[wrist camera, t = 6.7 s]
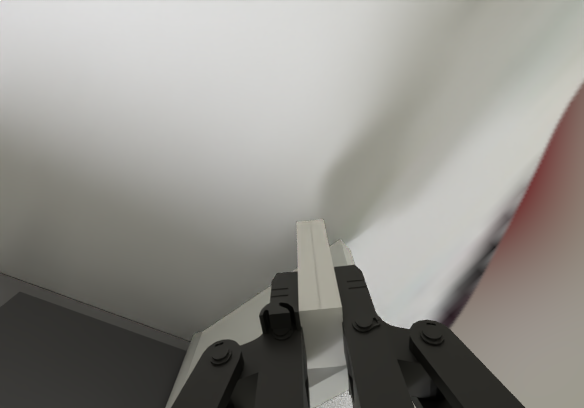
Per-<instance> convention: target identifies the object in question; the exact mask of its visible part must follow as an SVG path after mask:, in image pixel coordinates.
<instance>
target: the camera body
mask: <svg viewBox="0 0 584 408" xmlns="http://www.w3.org/2000/svg"><path fill="white" fill-rule="evenodd" d="M189 345H190V342H189V341H186V340H184V339H181V338H178V337H175V336H172V335H170V334H167V333H164V332H161V331H159V330H156V329H153V328H150V327H148V326H145V325H142V324H139V323H137V322H134V321H131V320H128V319H126V318H123V317H120V316H117V315H115V314H112V313H109V312H106V311H104V310H101V309H98V308H95V307H93V306H90V305H87V304H84V303H82V302H79V301H76V300H73V299H70V298H68V297H65V296H62V295H59V294H57V293H54V292H51V291H48V290H46V289H43V288H40V287H37V286H35V285H32V284H29V283H26V282H24V281H21V280H18V279H15V278H13V277H10V276H7V275H4V274H2V273H0V408H165V407H166V405H167V402H168V399H169V397H170V394H171V392H172V389H173V386H174V384H175V381H176V379H177V376H178V373H179V371H180V368H181V366H182V363H183V360H184V358H185V355H186V353H187V350H188V347H189Z"/></svg>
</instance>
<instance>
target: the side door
mask: <svg viewBox="0 0 584 408" xmlns="http://www.w3.org/2000/svg"><path fill="white" fill-rule="evenodd" d="M329 248H330V252H331V257H332V262H333V267H337V266H347V265H355V264H354V260H353V257H352V254H351V251H350V249H349V248H348V247H347V246H346V245H345V243H344V242H343V241H342V240H341V239H340V240H338V241H337V242H335V243H334V244H332V245H331V246H329ZM296 271H298V268H296V269H295V270H293V271H292V272H296ZM270 295H271V286H270V287H268V288H267V289H265V290H264V291H262V292H261V293H259V294H258V295H256V296H255V297H253V298H252V299H250V300H249V301H247V302H246V303H244V304H243V305H241V306H240V307H238V308H237V309H235V310H234V311H233V312H231V313H230V314H228V315H227V316H225V317H224V318H222V319H221V320H219V321H218V322H216V323H215V324H213V325H212V326H210V327H209V328H207V329H206V330H204V331H203V332H197V333H195V334H194V335H193V337H192V340H191V342H190V345H189V347H188V350H187V353H186V355H185V358H184V360H183V363H182V366H181V368H180V371H179V373H178V376H177V379H176V381H175V384H174V386H173V389H172V392H171V394H170V397H169V399H168V402H167V405H166V407H165V408H171V407H172V405H173V403H174V401H175V400H176V398H177V396H178V395H179V393H180V391H181V390H182V388H183V386H184V384H185V383H186V381H187V379H188V378H189V376H190V374H191V373H192V371H193V369H194V367H195V366H196V364H197V362H198V361H199V359H200V357H201V356H202V354H203V352H204V351H205V350H206V349H207V348H208V347H209V346H210V345H212V344H213V343H214V342H217V341H220V340H224V339H230V340H234V341H236V342H237V343H238V344H239V345H243V344H245V343H248V342H251V341H253V340H255V339H256V338H258V337H259V336H261V334H262V333H263V332H262V328H261V323H260V318H259V314H260V311H261V310H262V308H263V307H264V306H265V305H267V304H269V303H270ZM307 373H308V380H309V393H310V408H315V407H317V406H319V405H321V404H323V403H325V402H327V401H329V400H330V399H332V398H334V397H336V396H338V395H340V394H342V393H344V392H346V391H348V390H349V383H348V370H347V365H345V366H337V367H325V368H313V369H307Z"/></svg>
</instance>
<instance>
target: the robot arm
mask: <svg viewBox="0 0 584 408" xmlns="http://www.w3.org/2000/svg"><path fill="white" fill-rule="evenodd" d="M296 223H297V261H298V271H296V272H286V273H277V274H276V276H275V277H274V279H273V280H272V284H271V295H270V303H269V304H267V305H265V306H264V307H263V308H262V310H261V311H260V314H259V318H260V323H261V328H262V332H263V333H262V334H261V336H259V337H258V338H256V339H255V340H253V341H251V342H248V343H245V344H243V345H239V344H238V343H237V342H236V341H234V340H230V339H224V340H220V341H217V342H214V343H213V344H212V345H210V346H209V347H208V348H207V349H206V350H205V351H204V352H203V354H202V356H201V357H200V359H199V361H198V362H197V364H196V366H195V367H194V369H193V371H192V373H191V374H190V376H189V378H188V379H187V381H186V383H185V384H184V386H183V388H182V390H181V391H180V393H179V395H178V396H177V398H176V400H175V401H174V403H173V405H172V407H171V408H310V393H309V380H308V373H307V369H313V368H325V367H337V366H345V365H347V370H348V383H349V395H351V398H352V403H353V408H414V405H415V406H416V408H525V407H524V406H523V405H522V404H521V403H520V402H519V401H518V400H517V399H516V398H515V396H513V394H511V392H510V391H509V390H508V389H507V388H506V387H505V386H504V385H503V384H502V383H501V382H500V381H499V380H498V379H497V378H496V377H495V376H494V375H493V374H492V373H491V372H490V371H489V369H487V368H486V366H485V365H484V364H483V363H482V362H481V361H480V360H479V359H478V358H477V357H476V356H475V355H474V354H473V353H472V352H471V351H470V350H469V349H468V348H467V347H466V345H464V343H463V342H462V341H461V340H460V339H459V338H458V337H457V336H456V335H455V334H454V333H453V332H452V331H451V330H450V329H449V328H447V327H446V326H445V325H443V324H441V323H439V322H436V321H431V320H422V321H418V322H416V323H414V324H413V325H412V326H411V328H410V329H405V328H399V327H395V326H391V325H389V324H387V323H385V322H384V321H382V319H381V318H380V317H379V316H378V315H377V313H376V311H375V308H374V305H373V303H372V300H371V297H370V294H369V291H368V288H367V285H366V282H365V279H364V276H363V274H362V271H361V270H360V269H359V268H358V267H356V266H355V265H347V266H337V267H333V262H332V257H331V252H330V248H329V243H328V238H327V233H326V229H325V224H324V219H318V220H309V221H300V222H296ZM412 401H413V402H412ZM413 403H414V405H413Z"/></svg>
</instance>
